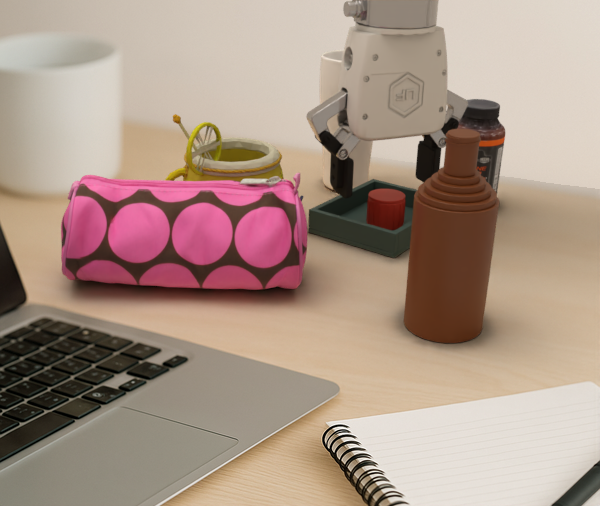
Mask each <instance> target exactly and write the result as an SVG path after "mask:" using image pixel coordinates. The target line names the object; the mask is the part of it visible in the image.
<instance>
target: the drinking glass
mask: <svg viewBox="0 0 600 506" xmlns="http://www.w3.org/2000/svg"><path fill="white" fill-rule="evenodd" d="M343 52H344V49H337V50H336V49H335V50H329V51H326V52H325V51H324V52H323V53H322V54H321V56H320V65H319V66H320V68H319V105H320V104H322V103H323V102H325V101H326V100H328V99H329V98H331V97H332V96H334V95H335V94H337V93H338V86H339V77H340V70H341V63H342V58H343ZM327 126H328V129H329V131H330V133H331V134H332V135H334V133H335V132H336V131H337V129H338V128H339V125H338V122H337V114H336V115H334V116H333V117H331V118H330V119H329V120H328V121H327ZM373 143H374V141H365V140H360V142H359V143H358V144H357V145H356V147H355V148H354V149H353V151H352V152H351V153H350V155H349V157H350V158H351V159H353V161H354V170H353V188H355V187H357V186H359V185H361V184H364V183H366V182H368V181H370V180H369V179H370V178H369V177H370V166H371V159H372V150H373ZM321 147H322V149H321V150H322V183H323V184H324V186H325V187H326V188H327V189H330V190H332V191H334V190H333V187H332V186H331V183H330V164H331V153H330V152H328V151H327V149H326V148H325V147H324V146H323V145H322V144H321Z"/></svg>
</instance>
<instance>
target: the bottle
mask: <svg viewBox="0 0 600 506" xmlns="http://www.w3.org/2000/svg"><path fill="white" fill-rule="evenodd" d="M446 137H447V138H446V139H445V142H446V146H445V150H444V160H443V166H442V167H440V168H439V170H438V172H436V173H434V174H433V175H432V177H430V178H428V179H427V180H426V181H425V182H422V183H421V184H420V185H418V187H417V189H416V190H417V191H416V192H415V195H414V205H413V216H412V228H411V240H410V248H409V253H408V264H407V274H406V286H405V288H406V289H405V301H404V310H403V311H404V312H403V323H404V326H405V328H406V329H407V330H408V331H409V332H410V333H412V334H413V335H415V336H416V337H419V338H421V339H424V340H427V341H430V342H435V343H441V344H442V343H443V344H457V343H463V342H468V341H472V340H473V339H475V338H477V337H478V336H479V335H480V334H481V332H482V331H483V326H484V318H485V311H486V305H487V297H488V288H489V281H490V276H491V275H490V274H491V268H492V259H493V252H494V245H495V237H496V232H497V231H496V230H497V223H498V214H499V208H500V207H499V206H500V199H499V197H498V192H497V193H496V191H495V190H494V189H493V188H492V187H491V185H490V184H489V183H488V182H486V179H485V178H484V177H483V176H481V174H480V172H479V171H478V170H476V166H477V158H478V150H479V142H480V141H481V138H480V133H479V132H477V131H474V130H469V129H452V130H449V131H448V132H447V133H446Z"/></svg>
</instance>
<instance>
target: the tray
mask: <svg viewBox="0 0 600 506" xmlns="http://www.w3.org/2000/svg"><path fill="white" fill-rule="evenodd" d="M376 189H394V190H398V191H401V192H403V193H404V194H405V200H406V202H405V214H404V223H403V226H401V227H400V228H398V229H396V230H388V229H385V228H381V227H377V226H374V225H370V224H367V222H366V219H367V202H368V195H369V192H370V191H372V190H376ZM417 190H418V189H416V188H412V187H408V186H404V185H399V184H396V183H391V182H387V181H384V180H379V179H377V178H372V179H370V180H368V182H366V183H364V184H361V185H359V186H357V187H355V188H353V190H352V196H351V197H350V198H344V197H342V196H341V195H340V194H338V195H337V196H334V197H333V198H330V199H328V200H326V201H324V202H321V203H320V204H317V205H316V206H313V207H312V208H309V209H308V229H307V233H310V234H313V235H317V236H319V237H323V238H327V239H330V240H333V241H336V242H339V243H342V244H346V245H349V246H353V247H356V248H360V249H363V250H367V251H369V252H373V253H376V254H380V255H382V256H385V257H389V258H393V259H394V258H396V257H398V256H400V255H401V254H403V253H405V252H406V251H407V250H410V240H411V228H412V216H413V205H414V195H415V192H416V191H417Z"/></svg>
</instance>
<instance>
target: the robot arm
mask: <svg viewBox="0 0 600 506" xmlns="http://www.w3.org/2000/svg"><path fill="white" fill-rule="evenodd" d="M342 9H343V10H342V11H343V15H344V16H345V17H346V18H351V17H352V18H353V22H354V26H349V29H348V32H347V35H346V40H345V43H344V47H343V50H344V52H343V58H342V63H341V70H340V77H339V86H338V93H337V94H335V95H334V96H332V97H331V98H329V99H328V100H326V101H325V102H323V103H322V104H320V103H319V104H318V105H317V106H315V107H314V108H312V109H311V110H309V111H308V112H307V113H306V116H305V117H306V120H307V123H308V124H309V126H310V129H311V130H312V132H313V134H314V139H315V140H317V141H318V142H319V144H321V146H322V145H323V146H324V147H325V148H326V149H327V151H328V152H330V153H331V164H330V183H331V186H332V187H333V190H332V191H334V192H336V193H337V194H338V195H341V196H342V197H344V198H350V197H351V196H352V190H353V170H354V161H353V159H351V158H350V157H349V155H350V153H351V152H352V151H353V149H354V148H355V147H356V145H357V144H358V143H359V142H360V140H365V141H373V142H374V141H375V142H376V141H385V140H394V139H403V138H413V137H422V138H423V140H419V141H418V144H417V151H416V152H417V153H416V162H415V163H416V165H415V176H414V177H415V179H417V180H419V181H421V182H422V183H424V182H425V181H426V180H427V179H428V178H430V177H432V175H433V174H434V173H436V172H438V170H439V169H440V168H441V166H440V165H441V157H442V156H441V155H442V149H443V148H446V142H445V139H446V138H447V137H446V133H447V132H448V131H449V130H452V129H457V128H458V126H459V120H461V118H462V116H463V114H464V112H465V110H466V108H467V106H468V101H467V100H468V99H465V98H464V97H462V96H460V95H458V94H457V93H455V92H452V91H451V90H449V89H448V51H447V43H446V34H445V29H444V27H441V26H437V22H438V10H439V0H349V1H348V0H347V1H345V2H344V3H343V8H342ZM336 114H337V122H338V125H339V128H338V129H337V131H336V132H335V133H334V135H332V134H331V133H330V131H329V129H328V126H327V121H328V120H329V119H330V118H331V117H333V116H334V115H336Z"/></svg>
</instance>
